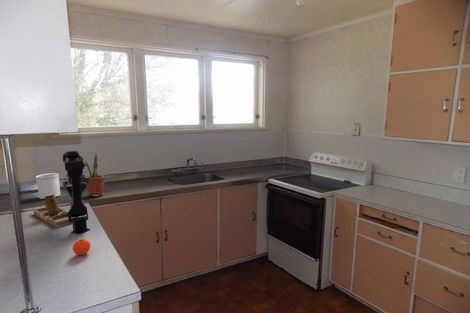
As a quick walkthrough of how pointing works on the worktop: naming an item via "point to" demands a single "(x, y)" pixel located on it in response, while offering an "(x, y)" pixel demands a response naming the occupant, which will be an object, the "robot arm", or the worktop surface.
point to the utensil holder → (48, 185)
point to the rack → (53, 217)
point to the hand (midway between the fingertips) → (75, 199)
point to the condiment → (52, 205)
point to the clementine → (81, 246)
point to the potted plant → (95, 179)
